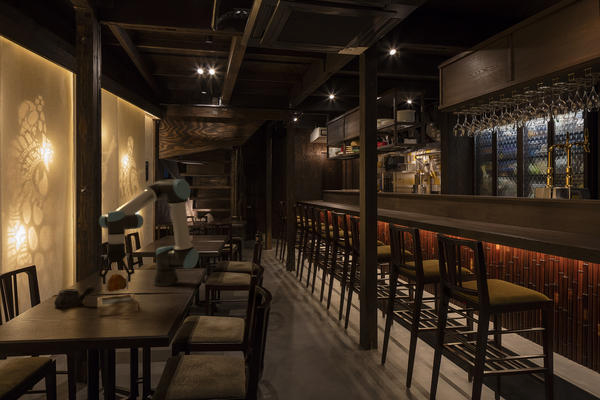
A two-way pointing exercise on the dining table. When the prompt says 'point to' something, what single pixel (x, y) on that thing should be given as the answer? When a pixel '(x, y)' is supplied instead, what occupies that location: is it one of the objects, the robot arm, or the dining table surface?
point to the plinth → (117, 304)
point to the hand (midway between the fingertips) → (116, 289)
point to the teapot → (72, 297)
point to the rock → (116, 283)
